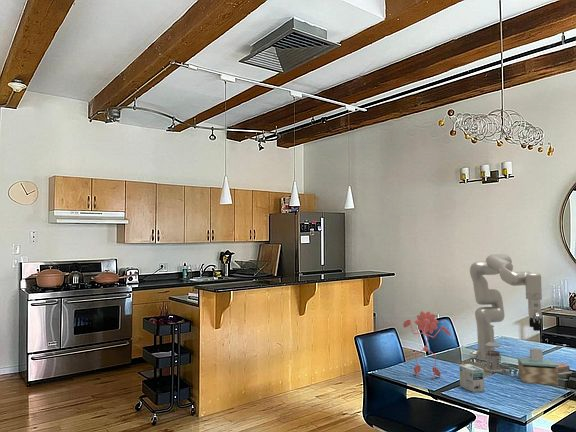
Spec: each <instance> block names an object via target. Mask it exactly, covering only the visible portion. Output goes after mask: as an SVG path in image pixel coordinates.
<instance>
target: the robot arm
mask: <svg viewBox="0 0 576 432" xmlns="http://www.w3.org/2000/svg"><path fill="white" fill-rule="evenodd" d="M513 269H514V265H513V263H512V258H511V257H510V255H509V254H506V253H505V254H504V253H499V254H498V253H495V254H494V253H493V254H490V255H488V256H487V257H486V258H485V261H483V260H479V261H476V262H473V263H472V264H471V265H470V267H469V275H470V278H471V280H472V284H473V291H474V298H475V302H476V303H477V304H478V305H482V307H481V306H480V307H477V309H475V311H474V317H475V322H476V329H477V330H476V331H477V332H476V334H477V335H476V336H477V350H475V351H473V350H470V351H469V353H470V355H474V356H475V358H476V359H477V360H480V361H484V362H486V361H487V360H486V353H487V352H486V351H488V349H489V350H491V349H492V351H496V350H495V347H488V346H486V345H485V344H486V343H488V342H495V331H494V327H490V326H491V325H492V324H491V323H500V322H503V321H504V319H505V308H504V301H503V297H502V294H501V292H500V290H498V289H495V288H489V283H488V281H487V279H486V278H485V276H495V275H499V277H500V279H501V280H502V282H505V283H506V284H508V285H510V286H514V287H516V286H517V287H518V286H525V299H526V300H527V306H528V309H527V310H528V316H529V327H530V328H532V330H533V331H534V332H535V331H536V332H540V331H541V319H542V318H543V313H542V304H541V303H542V302H541V300H543V293H542V275H541V274H540V273H536V272H530V271H514V270H513ZM487 305H488V306H487ZM489 305H491V306H489ZM492 329H493V341H492ZM491 358H492V357H491ZM490 360H492V359H490Z"/></svg>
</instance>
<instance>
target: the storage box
mask: <svg viewBox="0 0 576 432" xmlns="http://www.w3.org/2000/svg"><path fill="white" fill-rule="evenodd" d="M517 368H518V376H519V378H520V380H521V381H522V383H524V384H526V383H527V384H538V385H552V386H559V375H558V369H557V368H556V367H549V366H533V365H522V364H521V363H520V362H519V361H518V360H517Z"/></svg>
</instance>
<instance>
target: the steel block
mask: <svg viewBox="0 0 576 432" xmlns="http://www.w3.org/2000/svg"><path fill="white" fill-rule="evenodd" d="M543 353H544V352H543V350H542V349H541V348H529V357H530V360H531V361H532V362H543V359H544V357H543V356H544V355H543Z"/></svg>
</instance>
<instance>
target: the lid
mask: <svg viewBox="0 0 576 432" xmlns="http://www.w3.org/2000/svg"><path fill="white" fill-rule="evenodd" d="M518 361H519V362H520V363H521V364H522V365H533V366H549V367H558V365H557V364H556V363H557V362H555V361H553V360H552V359H544V358H543V362H532V361H531V360H530V358H528V357H527V358H525V357H517V362H518Z"/></svg>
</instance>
